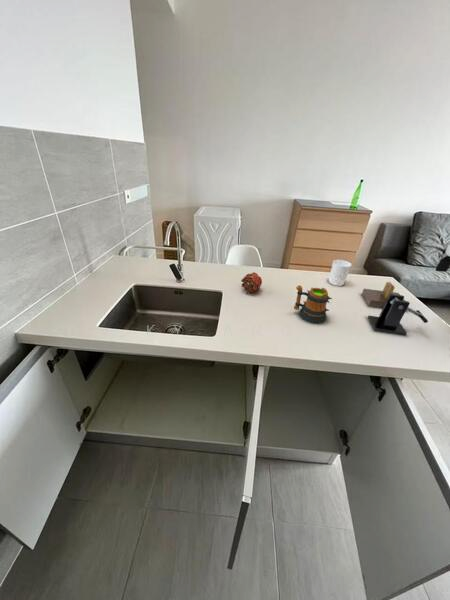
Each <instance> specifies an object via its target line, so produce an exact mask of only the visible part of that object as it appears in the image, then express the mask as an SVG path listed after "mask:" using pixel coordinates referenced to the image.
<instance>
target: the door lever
mask: <svg viewBox="0 0 450 600" xmlns="http://www.w3.org/2000/svg"><path fill="white" fill-rule="evenodd" d="M394 300H400V299H398V298H397V297H395V298H394V299H392V300H391V301H390V303H391V304H392V303H393V301H394ZM400 301H402V300H400ZM406 312H409V313H410V314H412V315H414V316H416V317H418V318H419V319H420V320H421V321H422V322H423V323H424V324H427V323H428V322H429V320H428V319H427V317H425V316H424V315H423V313H422V311H421V310H419V309H416V310H415V309H413V308H411V307H409V306H408V308H407V310H406Z"/></svg>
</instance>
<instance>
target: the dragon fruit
mask: <svg viewBox="0 0 450 600" xmlns="http://www.w3.org/2000/svg"><path fill="white" fill-rule="evenodd" d="M240 281H241V282H242V283H241V288H244V289H245V291H247V292H249V293H255V292H256V291H260V290H261V286H262V283H263V280H262V277H261V276H259V274H258V273H257V272H252V273H247V274H245V275H244V276H243V278H241V280H240Z"/></svg>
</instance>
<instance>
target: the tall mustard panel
mask: <svg viewBox="0 0 450 600" xmlns="http://www.w3.org/2000/svg"><path fill="white" fill-rule="evenodd" d="M395 288H396V286H395V285H394V284H393V283H392V282H391V281H386V282H385V285H384V287H383V288H382V289H383V290H381V291H382V295H383V296H384V297H385V299H387V298H388V296H389V294H392V292H394V290H395Z"/></svg>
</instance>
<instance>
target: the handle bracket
mask: <svg viewBox="0 0 450 600" xmlns="http://www.w3.org/2000/svg"><path fill="white" fill-rule="evenodd" d="M395 297H397V298H398V299H400V300H402V301H400V300H394V301H393V303H392V304H391V303H390V301H391V300H392V299H394V298H395ZM403 299H404V300H405V296H404V295H401V294H400V295H394V294H389V296H388V298H387V300H386V303H385V305H384V307H383V308H381V311H380V313H379V315H378V316H376V315H368V316H367V320H368V322H369V324H370V326H371V327H372V329H373V331H374V332H378V333H385V334H392V335H399V336H406V335H407V331H406V330H405V328H404V326H402V324H401V321H402V319H403V317H404V315H405V314H406V312H407V308H408V307H409V306H410V304H411V303H410V301H406V300H405V301H403Z"/></svg>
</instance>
